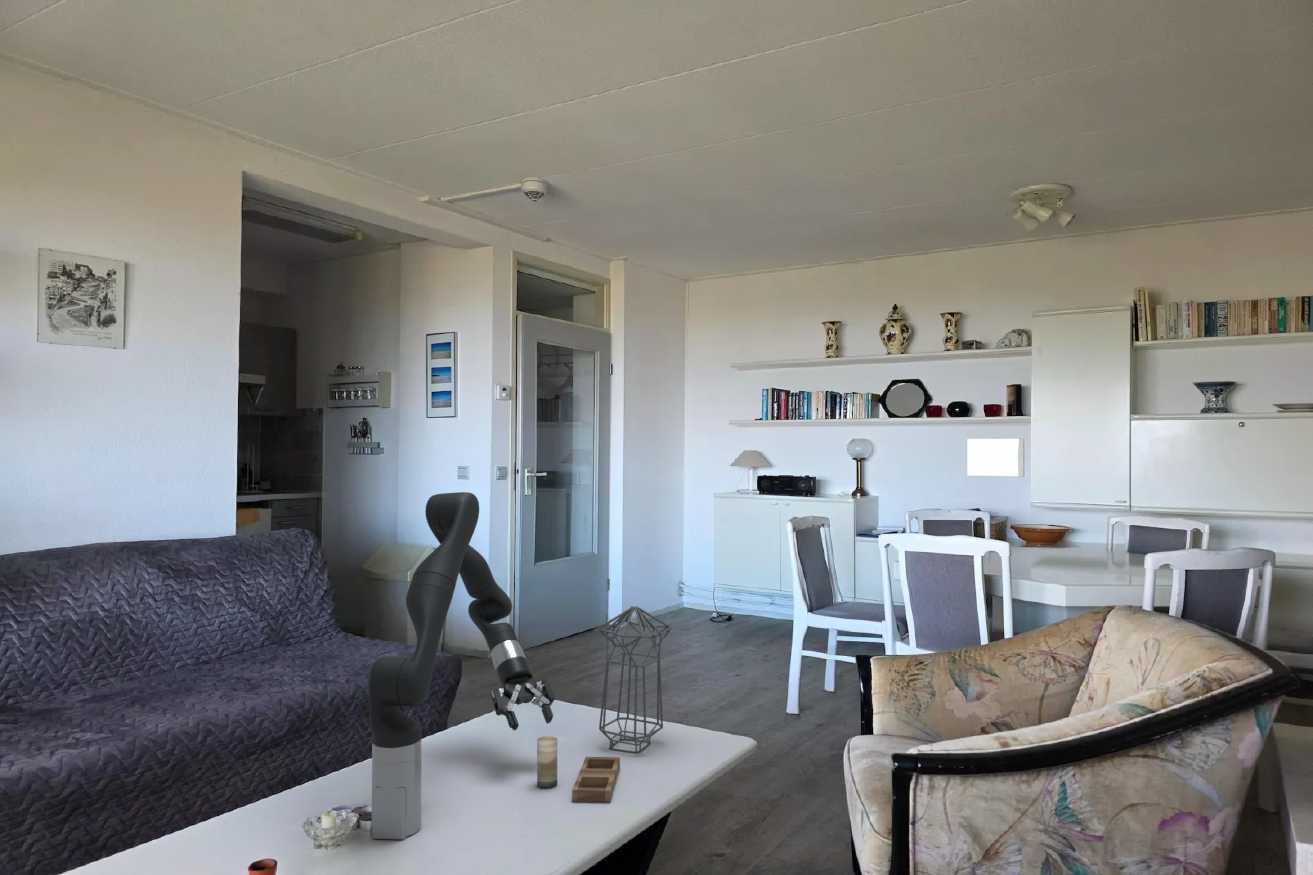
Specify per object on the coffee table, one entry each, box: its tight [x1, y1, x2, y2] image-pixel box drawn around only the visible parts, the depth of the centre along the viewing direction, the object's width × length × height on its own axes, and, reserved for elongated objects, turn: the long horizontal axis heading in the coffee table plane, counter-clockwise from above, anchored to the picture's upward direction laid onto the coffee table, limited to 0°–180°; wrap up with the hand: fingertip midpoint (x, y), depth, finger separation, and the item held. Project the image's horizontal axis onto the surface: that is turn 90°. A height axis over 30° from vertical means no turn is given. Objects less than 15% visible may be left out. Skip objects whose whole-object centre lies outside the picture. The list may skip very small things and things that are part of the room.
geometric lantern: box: [594, 606, 673, 754], centre depth 214 cm, size 16×16×35 cm
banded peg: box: [536, 735, 558, 790], centre depth 189 cm, size 4×4×10 cm
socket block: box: [571, 756, 621, 804], centre depth 189 cm, size 20×8×2 cm, turn 177°
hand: (533, 724), depth 194 cm, fingers open, 8 cm apart
